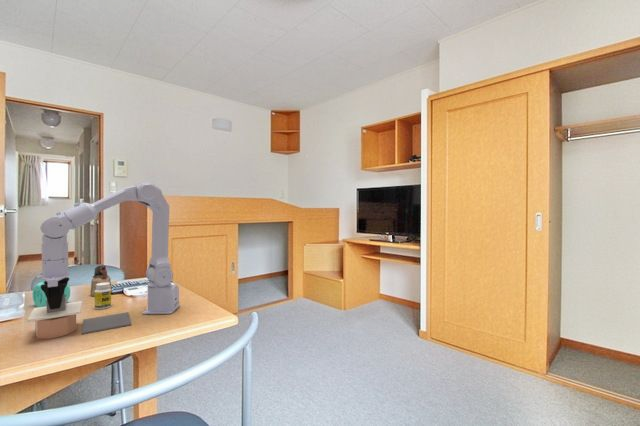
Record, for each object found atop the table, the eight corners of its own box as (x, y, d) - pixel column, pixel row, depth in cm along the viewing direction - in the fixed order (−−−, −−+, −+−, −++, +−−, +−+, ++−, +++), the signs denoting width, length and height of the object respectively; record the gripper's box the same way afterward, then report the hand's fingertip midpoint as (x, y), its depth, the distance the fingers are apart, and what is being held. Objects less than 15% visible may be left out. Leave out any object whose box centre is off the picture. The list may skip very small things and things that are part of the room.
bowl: (82, 326, 94) (82, 309, 93) (60, 338, 85) (60, 320, 85) (52, 326, 93) (52, 310, 93) (27, 338, 84) (27, 320, 84)
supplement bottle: (102, 310, 107) (102, 286, 107) (91, 309, 108) (90, 285, 108) (114, 305, 112) (114, 282, 112) (103, 304, 113) (103, 281, 113)
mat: (128, 313, 104) (128, 312, 104) (131, 325, 95) (131, 323, 94) (83, 321, 97) (83, 319, 97) (81, 334, 88) (81, 332, 88)
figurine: (108, 290, 130) (107, 262, 130) (115, 293, 126) (114, 264, 126) (87, 294, 124) (87, 264, 124) (94, 298, 120) (94, 267, 120)
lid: (82, 302, 97) (81, 289, 96) (80, 313, 88) (80, 299, 87) (34, 310, 90) (34, 296, 90) (27, 322, 81) (26, 306, 81)
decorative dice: (58, 299, 118) (58, 278, 118) (70, 302, 114) (70, 281, 114) (32, 305, 111) (31, 283, 110) (44, 309, 107) (43, 286, 107)
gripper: (40, 256, 92) (41, 301, 92) (31, 264, 80) (32, 316, 80) (71, 254, 96) (71, 297, 96) (67, 262, 84) (67, 311, 85)
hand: (56, 306), depth 89 cm, fingers closed on lid, 4 cm apart
